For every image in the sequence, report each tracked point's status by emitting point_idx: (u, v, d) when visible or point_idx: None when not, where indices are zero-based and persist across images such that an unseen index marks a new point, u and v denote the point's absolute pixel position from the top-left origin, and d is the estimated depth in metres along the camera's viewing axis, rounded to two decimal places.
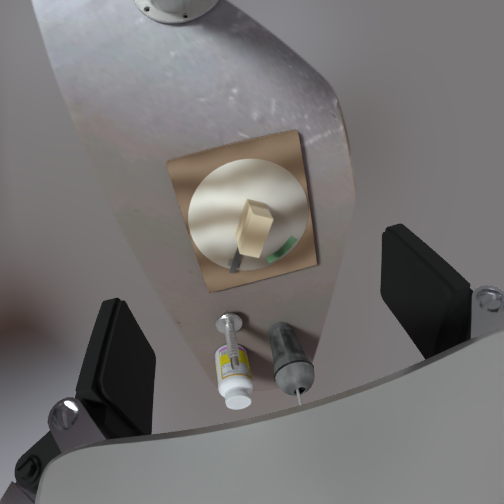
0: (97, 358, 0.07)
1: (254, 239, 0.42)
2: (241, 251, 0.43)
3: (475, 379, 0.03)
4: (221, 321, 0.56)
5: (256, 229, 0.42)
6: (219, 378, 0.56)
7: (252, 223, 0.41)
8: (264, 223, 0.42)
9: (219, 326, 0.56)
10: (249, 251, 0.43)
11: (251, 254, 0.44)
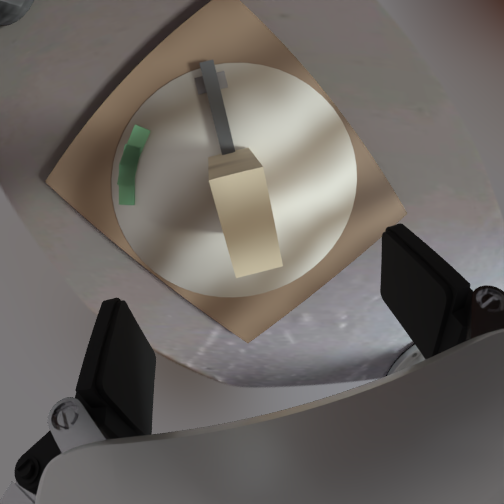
0: (97, 358, 0.07)
1: (249, 219, 0.17)
2: (262, 174, 0.16)
3: (475, 379, 0.03)
4: None
5: (258, 241, 0.17)
6: None
7: (275, 248, 0.18)
8: (249, 261, 0.18)
9: None
10: (243, 183, 0.16)
11: (233, 179, 0.16)
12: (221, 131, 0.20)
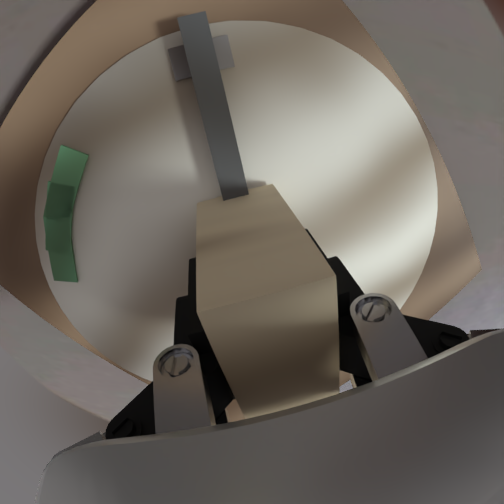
0: None
1: (289, 374, 0.07)
2: (330, 292, 0.06)
3: (475, 379, 0.03)
4: None
5: (302, 399, 0.08)
6: None
7: None
8: None
9: None
10: (283, 313, 0.06)
11: (259, 308, 0.06)
12: (221, 154, 0.10)
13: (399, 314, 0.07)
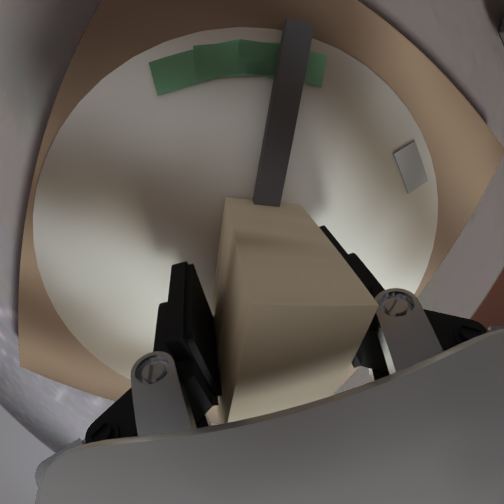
0: (181, 312, 0.08)
1: (293, 388, 0.07)
2: (367, 319, 0.07)
3: (475, 379, 0.03)
4: None
5: None
6: None
7: None
8: None
9: None
10: (323, 328, 0.06)
11: (308, 316, 0.06)
12: (272, 160, 0.10)
13: (421, 310, 0.07)
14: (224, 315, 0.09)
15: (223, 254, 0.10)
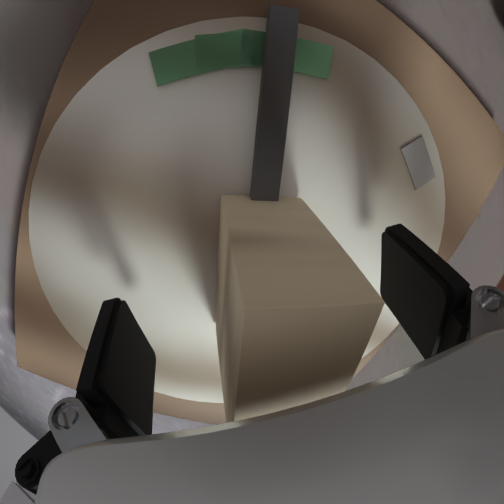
0: (97, 358, 0.07)
1: (299, 392, 0.07)
2: (372, 317, 0.06)
3: (475, 379, 0.03)
4: None
5: None
6: None
7: None
8: None
9: None
10: (326, 329, 0.06)
11: (308, 319, 0.06)
12: (266, 153, 0.10)
13: None
14: (225, 318, 0.09)
15: (222, 254, 0.10)
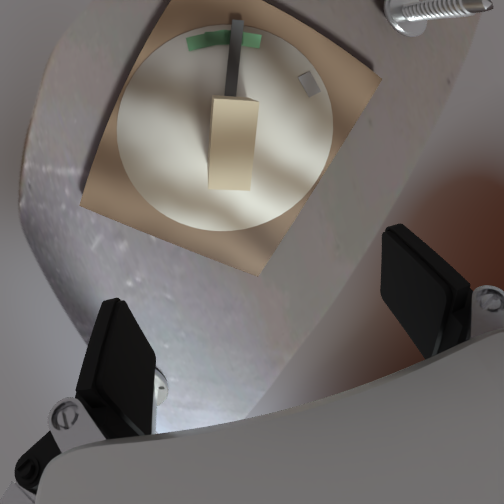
0: (97, 358, 0.07)
1: (234, 140, 0.19)
2: (256, 107, 0.18)
3: (475, 379, 0.03)
4: (411, 29, 0.20)
5: (236, 161, 0.20)
6: None
7: (248, 172, 0.20)
8: (223, 177, 0.20)
9: (420, 26, 0.20)
10: (239, 109, 0.18)
11: (233, 104, 0.18)
12: (230, 77, 0.22)
13: None
14: (210, 131, 0.21)
15: None
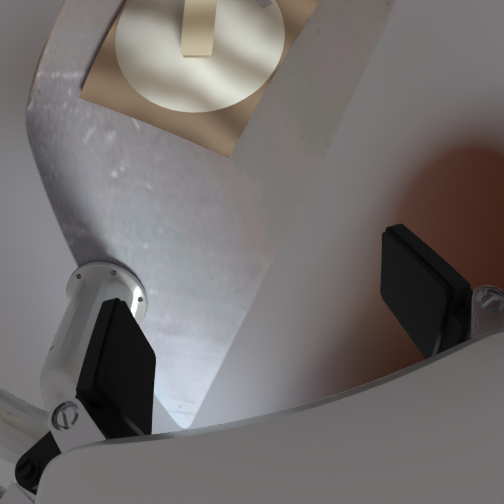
0: (97, 358, 0.07)
1: (200, 17, 0.21)
2: None
3: (475, 379, 0.03)
4: None
5: (201, 31, 0.22)
6: None
7: (210, 38, 0.23)
8: (191, 42, 0.22)
9: None
10: None
11: None
12: None
13: None
14: None
15: None
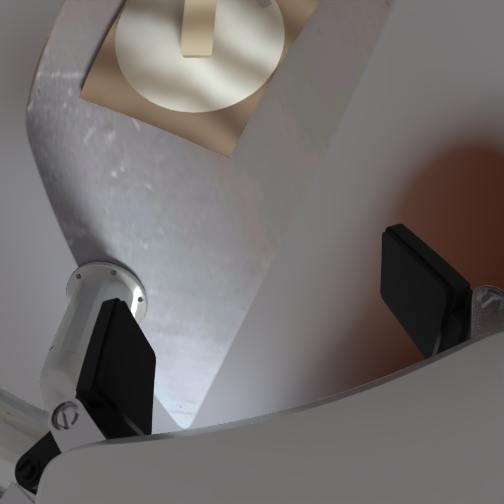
0: (97, 358, 0.07)
1: (200, 17, 0.21)
2: None
3: (475, 379, 0.03)
4: None
5: (201, 31, 0.22)
6: None
7: (210, 38, 0.23)
8: (191, 42, 0.22)
9: None
10: None
11: None
12: None
13: None
14: None
15: None
